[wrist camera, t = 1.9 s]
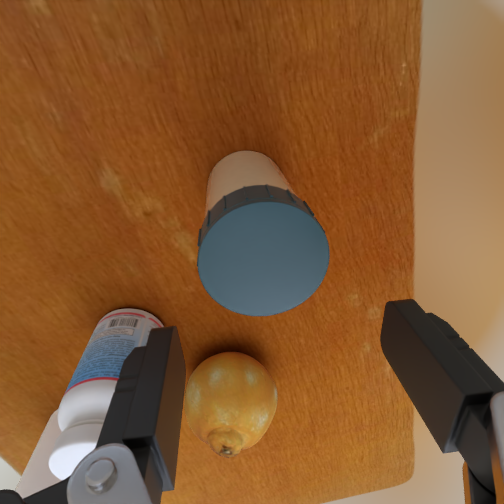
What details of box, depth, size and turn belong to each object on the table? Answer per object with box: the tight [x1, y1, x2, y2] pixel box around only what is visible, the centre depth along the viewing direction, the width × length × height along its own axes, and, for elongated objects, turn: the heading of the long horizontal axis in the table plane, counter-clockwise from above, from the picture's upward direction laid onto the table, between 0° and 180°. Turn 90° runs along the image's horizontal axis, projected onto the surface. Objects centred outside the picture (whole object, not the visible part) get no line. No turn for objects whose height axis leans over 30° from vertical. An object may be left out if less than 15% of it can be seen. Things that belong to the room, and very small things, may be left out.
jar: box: [204, 151, 297, 220], centre depth 19 cm, size 6×6×10 cm
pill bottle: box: [48, 308, 164, 480], centre depth 24 cm, size 6×6×11 cm
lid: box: [197, 184, 329, 316], centre depth 15 cm, size 6×6×2 cm
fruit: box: [185, 352, 277, 458], centre depth 29 cm, size 8×8×8 cm
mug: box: [15, 409, 62, 499], centre depth 31 cm, size 12×8×10 cm
